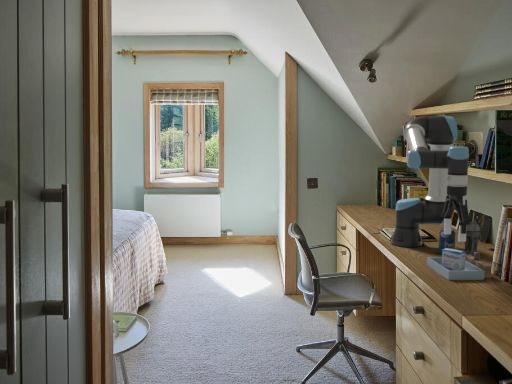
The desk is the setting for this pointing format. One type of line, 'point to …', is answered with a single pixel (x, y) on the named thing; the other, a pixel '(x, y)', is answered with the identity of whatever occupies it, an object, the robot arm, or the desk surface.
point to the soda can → (446, 240)
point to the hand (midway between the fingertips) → (454, 237)
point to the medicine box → (453, 259)
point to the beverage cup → (472, 237)
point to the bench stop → (479, 263)
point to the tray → (469, 273)
